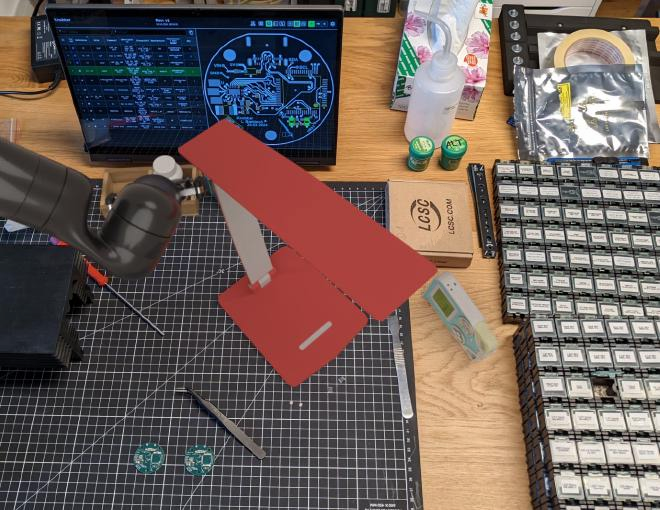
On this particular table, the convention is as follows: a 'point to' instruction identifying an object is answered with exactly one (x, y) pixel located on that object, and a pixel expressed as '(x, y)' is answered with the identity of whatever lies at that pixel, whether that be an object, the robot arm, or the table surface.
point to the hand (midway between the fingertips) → (160, 188)
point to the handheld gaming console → (461, 316)
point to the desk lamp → (300, 254)
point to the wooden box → (123, 176)
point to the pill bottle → (167, 168)
